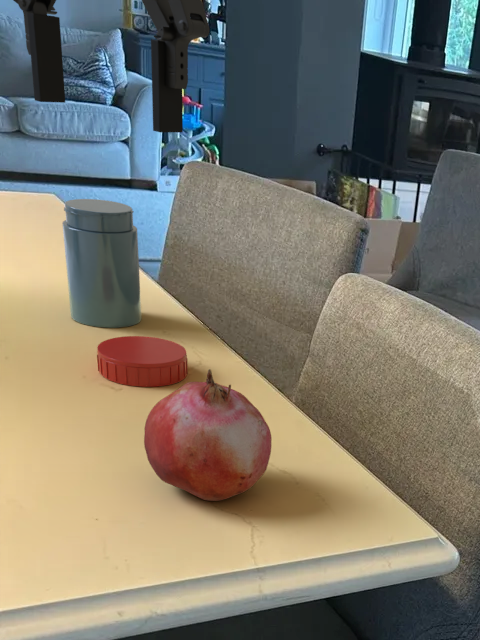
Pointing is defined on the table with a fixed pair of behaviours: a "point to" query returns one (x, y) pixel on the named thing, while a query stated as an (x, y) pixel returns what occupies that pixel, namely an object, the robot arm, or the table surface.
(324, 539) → the table surface
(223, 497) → the fruit
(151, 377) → the lid
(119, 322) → the jar
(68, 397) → the table surface
